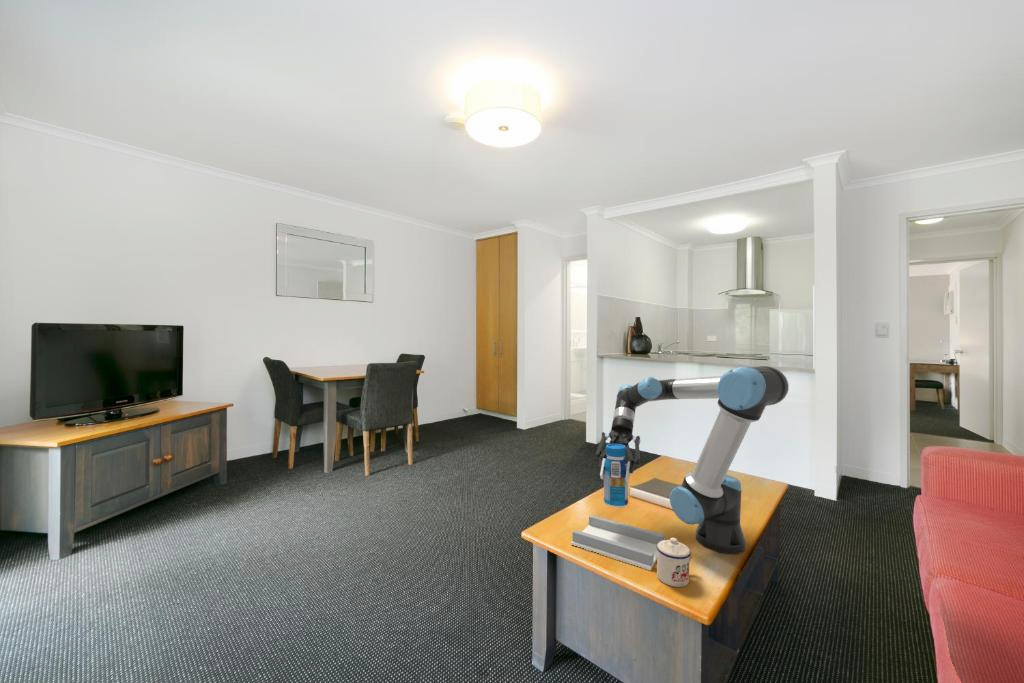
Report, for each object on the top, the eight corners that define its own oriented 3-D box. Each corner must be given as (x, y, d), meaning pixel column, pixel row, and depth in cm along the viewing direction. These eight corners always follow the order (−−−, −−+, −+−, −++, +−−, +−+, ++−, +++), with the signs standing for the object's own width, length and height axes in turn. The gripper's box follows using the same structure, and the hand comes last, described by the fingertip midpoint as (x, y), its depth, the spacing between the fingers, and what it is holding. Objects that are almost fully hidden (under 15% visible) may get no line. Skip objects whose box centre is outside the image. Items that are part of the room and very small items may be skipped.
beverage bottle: (598, 502, 145) (598, 445, 145) (614, 496, 150) (614, 441, 150) (617, 510, 138) (617, 450, 138) (633, 504, 143) (633, 446, 143)
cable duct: (665, 545, 140) (665, 533, 139) (650, 570, 124) (651, 557, 124) (592, 524, 154) (592, 513, 154) (571, 545, 139) (571, 533, 139)
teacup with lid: (674, 591, 115) (675, 550, 114) (649, 574, 123) (650, 535, 122) (703, 579, 120) (704, 540, 120) (677, 564, 128) (678, 526, 128)
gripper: (652, 430, 153) (646, 489, 139) (597, 425, 162) (586, 479, 148) (651, 419, 148) (644, 478, 134) (594, 414, 157) (582, 469, 143)
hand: (614, 479), depth 141 cm, fingers closed on beverage bottle, 8 cm apart
